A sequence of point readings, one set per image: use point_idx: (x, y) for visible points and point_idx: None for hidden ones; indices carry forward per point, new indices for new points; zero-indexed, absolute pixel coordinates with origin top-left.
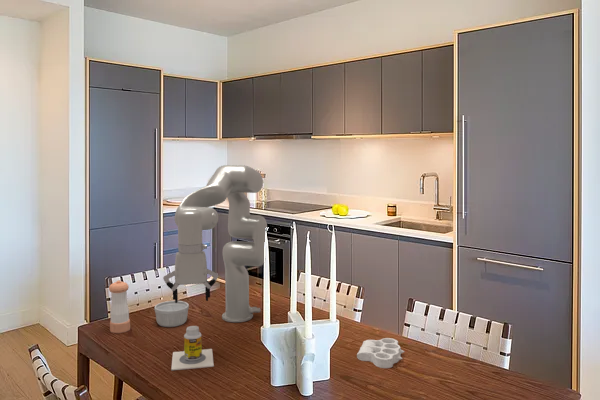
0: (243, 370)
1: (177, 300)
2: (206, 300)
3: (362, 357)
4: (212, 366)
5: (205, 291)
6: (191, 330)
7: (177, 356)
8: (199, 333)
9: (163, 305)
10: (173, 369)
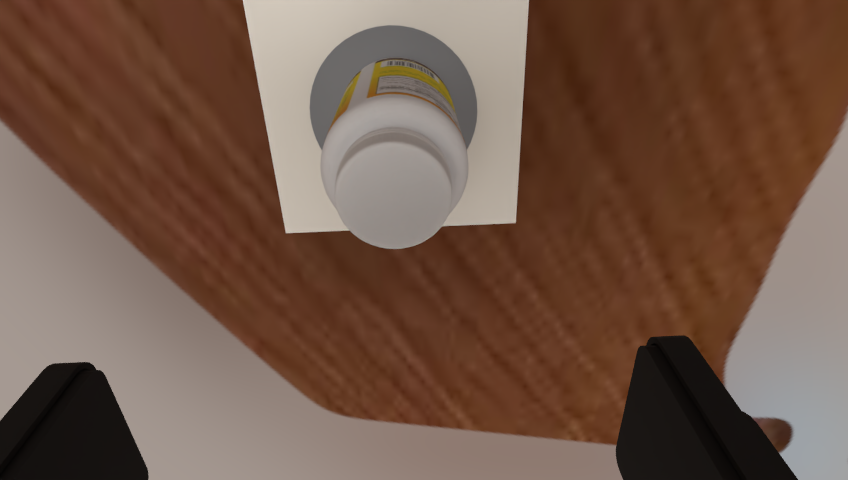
0: (654, 279)
1: (126, 470)
2: (626, 464)
3: None
4: (508, 220)
5: (705, 463)
6: (386, 247)
7: (288, 63)
8: (453, 184)
9: None
10: (297, 231)
